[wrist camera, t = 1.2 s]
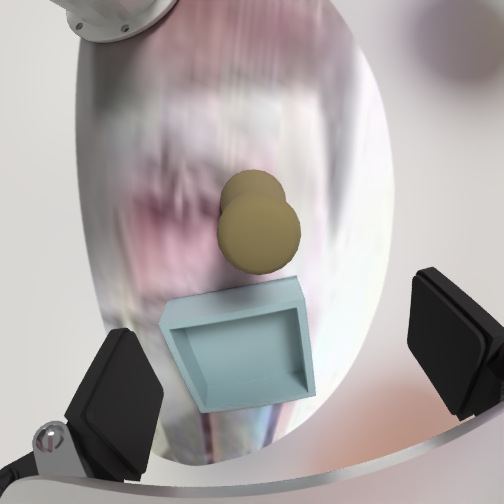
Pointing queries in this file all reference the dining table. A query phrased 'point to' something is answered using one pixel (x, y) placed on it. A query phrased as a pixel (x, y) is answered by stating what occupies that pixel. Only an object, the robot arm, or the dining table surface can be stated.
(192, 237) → the dining table surface
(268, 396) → the bin
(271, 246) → the cork
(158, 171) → the dining table surface
